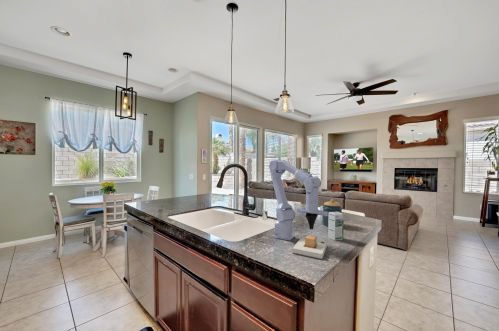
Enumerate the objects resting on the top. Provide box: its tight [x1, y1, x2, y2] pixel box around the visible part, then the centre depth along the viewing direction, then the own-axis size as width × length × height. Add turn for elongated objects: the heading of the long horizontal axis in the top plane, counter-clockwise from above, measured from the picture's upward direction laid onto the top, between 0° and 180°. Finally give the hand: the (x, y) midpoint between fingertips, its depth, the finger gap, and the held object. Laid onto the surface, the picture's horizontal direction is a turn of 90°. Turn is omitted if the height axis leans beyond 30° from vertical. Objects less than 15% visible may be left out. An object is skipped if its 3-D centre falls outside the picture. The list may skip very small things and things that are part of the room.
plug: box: [304, 234, 318, 249], centre depth 102 cm, size 4×6×6 cm
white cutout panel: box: [292, 237, 328, 260], centre depth 102 cm, size 13×16×3 cm
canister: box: [321, 198, 343, 227], centre depth 145 cm, size 13×13×18 cm
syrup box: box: [327, 212, 345, 241], centre depth 118 cm, size 6×6×14 cm
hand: (311, 228), depth 105 cm, fingers closed
